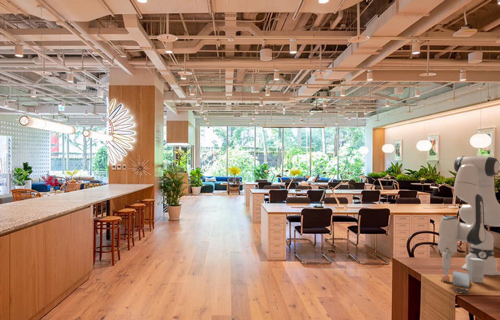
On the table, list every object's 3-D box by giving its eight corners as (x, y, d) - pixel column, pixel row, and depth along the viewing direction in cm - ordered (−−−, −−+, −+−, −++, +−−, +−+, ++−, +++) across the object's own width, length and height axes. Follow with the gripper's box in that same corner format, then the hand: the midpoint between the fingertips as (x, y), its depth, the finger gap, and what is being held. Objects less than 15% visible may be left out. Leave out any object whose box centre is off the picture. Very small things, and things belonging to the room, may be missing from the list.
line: (453, 286, 176) (453, 286, 176) (469, 289, 173) (469, 289, 173) (453, 286, 176) (453, 286, 176) (469, 290, 172) (469, 289, 172)
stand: (441, 279, 187) (441, 278, 187) (449, 281, 185) (449, 280, 185) (440, 281, 183) (441, 280, 183) (449, 283, 181) (449, 282, 181)
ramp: (452, 278, 189) (453, 270, 189) (467, 281, 186) (468, 273, 186) (453, 285, 179) (453, 276, 179) (469, 288, 175) (469, 279, 175)
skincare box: (478, 280, 189) (479, 258, 189) (483, 283, 185) (484, 260, 185) (467, 279, 190) (468, 257, 190) (471, 282, 185) (473, 259, 185)
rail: (455, 291, 169) (455, 287, 169) (467, 294, 167) (468, 289, 167) (455, 292, 168) (455, 288, 168) (467, 294, 166) (468, 290, 166)
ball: (441, 279, 186) (441, 273, 186) (449, 281, 185) (449, 274, 185) (441, 281, 183) (441, 274, 183) (449, 283, 181) (449, 276, 181)
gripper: (454, 251, 173) (452, 279, 173) (453, 244, 191) (452, 270, 191) (440, 249, 176) (438, 276, 176) (440, 242, 194) (439, 267, 194)
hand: (445, 273), depth 183 cm, fingers open, 8 cm apart
